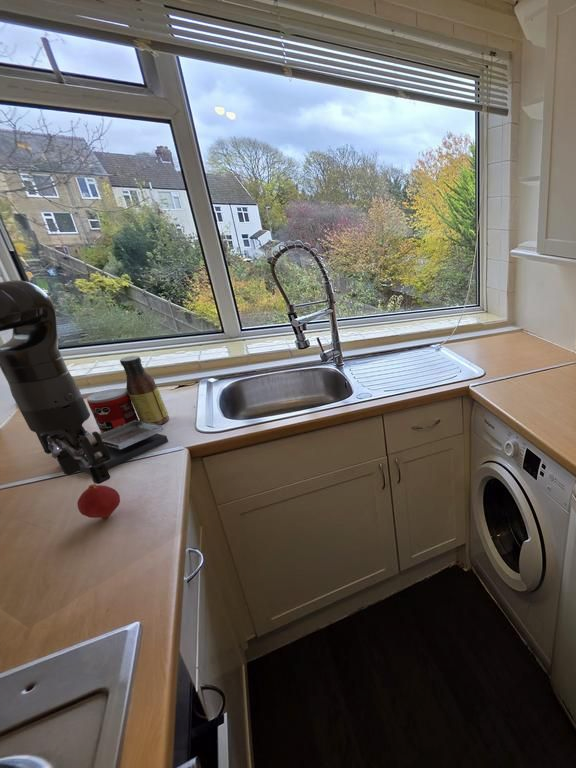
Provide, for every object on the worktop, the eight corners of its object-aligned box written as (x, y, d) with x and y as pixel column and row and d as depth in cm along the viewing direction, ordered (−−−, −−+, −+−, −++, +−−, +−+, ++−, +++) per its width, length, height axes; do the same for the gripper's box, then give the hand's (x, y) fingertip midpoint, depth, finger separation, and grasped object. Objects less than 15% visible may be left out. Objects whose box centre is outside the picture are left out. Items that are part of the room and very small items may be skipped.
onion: (79, 522, 79) (62, 488, 76) (115, 504, 84) (100, 472, 81) (96, 530, 77) (80, 496, 74) (132, 511, 82) (118, 479, 79)
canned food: (98, 432, 111) (82, 395, 106) (135, 420, 117) (122, 386, 112) (106, 440, 107) (90, 403, 102) (145, 428, 113) (131, 392, 108)
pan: (119, 449, 96) (117, 444, 96) (92, 442, 99) (89, 437, 99) (164, 430, 105) (162, 425, 105) (137, 424, 108) (135, 419, 107)
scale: (93, 477, 92) (87, 464, 91) (58, 466, 96) (52, 454, 94) (168, 441, 107) (164, 430, 105) (136, 433, 110) (131, 422, 109)
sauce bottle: (158, 416, 119) (134, 352, 111) (175, 418, 118) (153, 354, 110) (134, 427, 113) (108, 360, 106) (153, 429, 112) (127, 362, 104)
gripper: (-5, 402, 69) (38, 481, 76) (48, 415, 65) (88, 496, 72) (52, 386, 76) (87, 459, 82) (103, 396, 72) (136, 472, 78)
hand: (88, 476), depth 77 cm, fingers open, 8 cm apart
